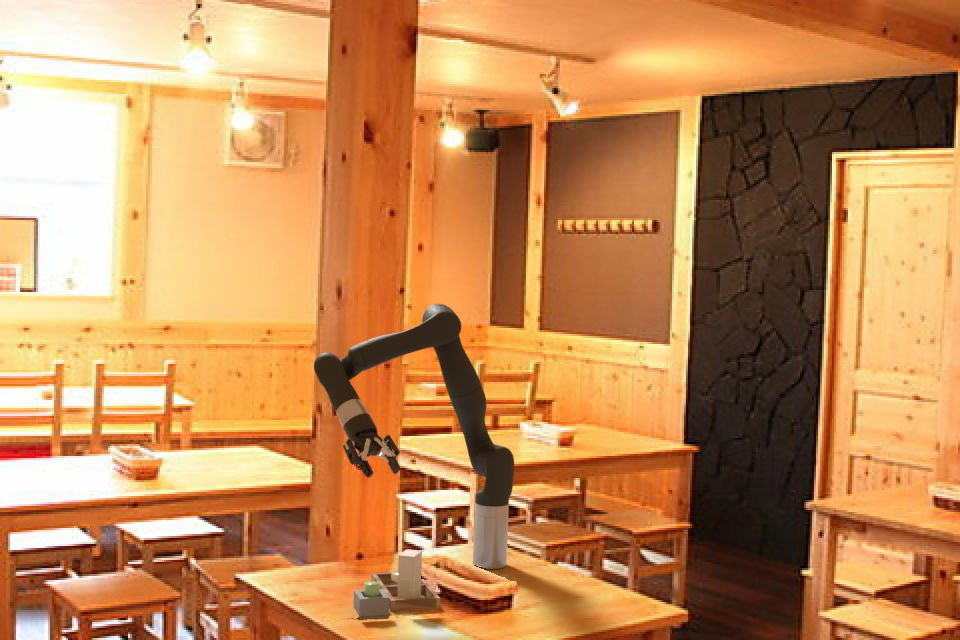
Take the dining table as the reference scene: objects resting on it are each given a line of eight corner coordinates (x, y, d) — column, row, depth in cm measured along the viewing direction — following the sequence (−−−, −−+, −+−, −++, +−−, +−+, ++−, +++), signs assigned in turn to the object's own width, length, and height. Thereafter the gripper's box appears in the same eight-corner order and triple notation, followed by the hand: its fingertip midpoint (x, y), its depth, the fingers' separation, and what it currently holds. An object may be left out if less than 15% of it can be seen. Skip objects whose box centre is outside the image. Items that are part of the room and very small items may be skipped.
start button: (362, 598, 285) (362, 581, 284) (377, 597, 286) (377, 581, 286) (365, 603, 281) (365, 586, 281) (380, 602, 282) (381, 585, 282)
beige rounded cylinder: (389, 586, 304) (389, 571, 303) (406, 586, 305) (406, 570, 304) (392, 591, 299) (393, 576, 299) (410, 591, 301) (410, 575, 300)
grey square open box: (353, 611, 286) (354, 590, 286) (382, 609, 288) (383, 588, 288) (359, 620, 279) (359, 599, 279) (388, 618, 281) (389, 597, 281)
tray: (371, 587, 306) (371, 573, 306) (417, 584, 310) (417, 571, 309) (390, 615, 284) (391, 600, 284) (439, 612, 288) (440, 598, 287)
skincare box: (404, 597, 295) (406, 548, 294) (421, 599, 294) (422, 550, 293) (396, 604, 289) (397, 554, 288) (413, 606, 288) (414, 556, 287)
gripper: (340, 414, 297) (368, 468, 289) (385, 410, 307) (413, 461, 299) (326, 432, 301) (354, 486, 293) (371, 427, 311) (398, 479, 303)
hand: (384, 473), depth 296 cm, fingers open, 8 cm apart
